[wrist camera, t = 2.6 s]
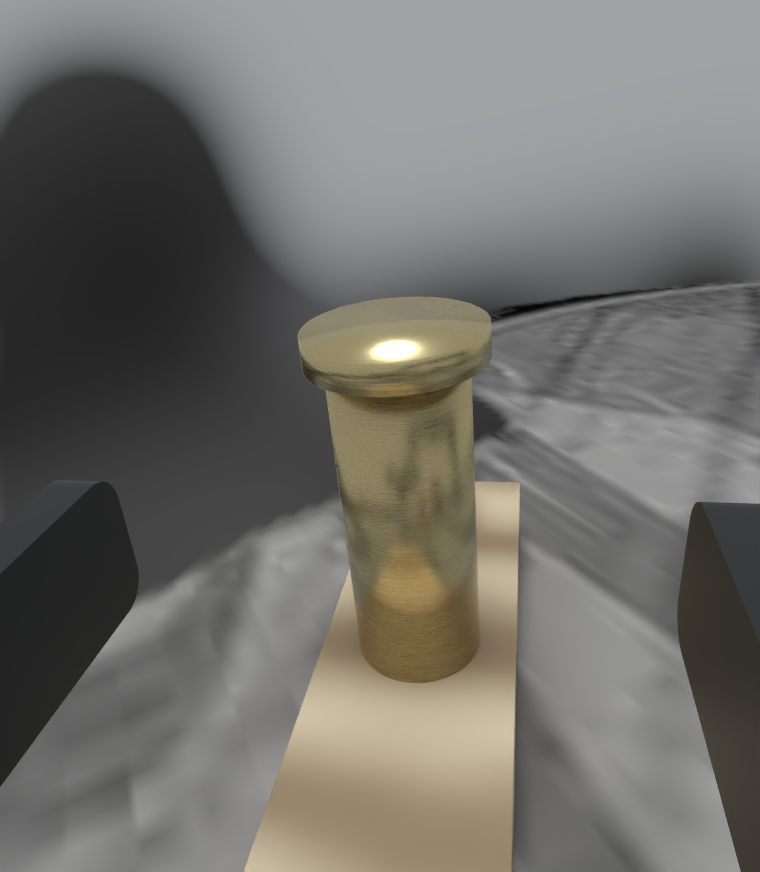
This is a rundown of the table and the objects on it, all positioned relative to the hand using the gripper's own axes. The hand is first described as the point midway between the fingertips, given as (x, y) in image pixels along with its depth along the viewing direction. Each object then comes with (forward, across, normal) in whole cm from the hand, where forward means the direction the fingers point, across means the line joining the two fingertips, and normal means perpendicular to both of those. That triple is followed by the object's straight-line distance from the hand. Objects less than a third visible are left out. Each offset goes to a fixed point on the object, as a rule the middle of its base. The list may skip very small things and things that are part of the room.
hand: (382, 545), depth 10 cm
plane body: (+12, +2, +16) cm, 20 cm away
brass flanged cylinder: (+12, +2, +12) cm, 17 cm away
